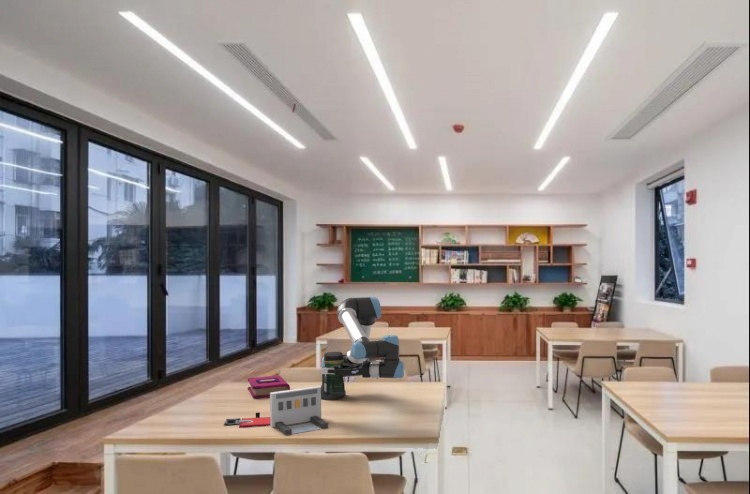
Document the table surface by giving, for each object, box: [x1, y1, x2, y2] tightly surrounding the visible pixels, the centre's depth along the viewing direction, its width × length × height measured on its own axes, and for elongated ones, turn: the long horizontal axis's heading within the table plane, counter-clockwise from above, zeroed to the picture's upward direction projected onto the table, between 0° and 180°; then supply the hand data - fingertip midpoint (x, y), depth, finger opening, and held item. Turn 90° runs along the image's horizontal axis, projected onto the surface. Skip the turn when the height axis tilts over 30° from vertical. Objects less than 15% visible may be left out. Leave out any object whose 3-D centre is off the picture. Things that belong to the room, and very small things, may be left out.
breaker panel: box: [269, 385, 322, 428], centre depth 232 cm, size 4×24×15 cm, turn 118°
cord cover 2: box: [310, 416, 329, 430], centre depth 228 cm, size 14×3×2 cm, turn 28°
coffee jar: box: [323, 351, 346, 393], centre depth 233 cm, size 10×8×19 cm
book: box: [247, 374, 291, 400], centre depth 296 cm, size 21×28×8 cm
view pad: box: [288, 422, 320, 435], centre depth 222 cm, size 11×12×1 cm
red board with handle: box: [223, 411, 270, 429], centre depth 234 cm, size 30×3×15 cm
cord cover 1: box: [274, 421, 292, 436], centre depth 220 cm, size 14×3×2 cm, turn 28°
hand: (324, 368), depth 234 cm, fingers closed on coffee jar, 8 cm apart
